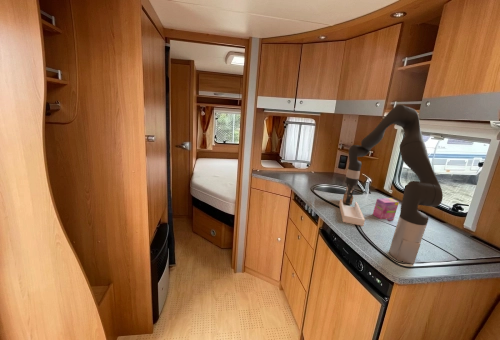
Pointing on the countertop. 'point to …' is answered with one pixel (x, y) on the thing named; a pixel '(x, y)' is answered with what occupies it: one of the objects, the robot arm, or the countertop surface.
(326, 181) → the countertop surface
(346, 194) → the block
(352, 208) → the trough
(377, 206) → the box
